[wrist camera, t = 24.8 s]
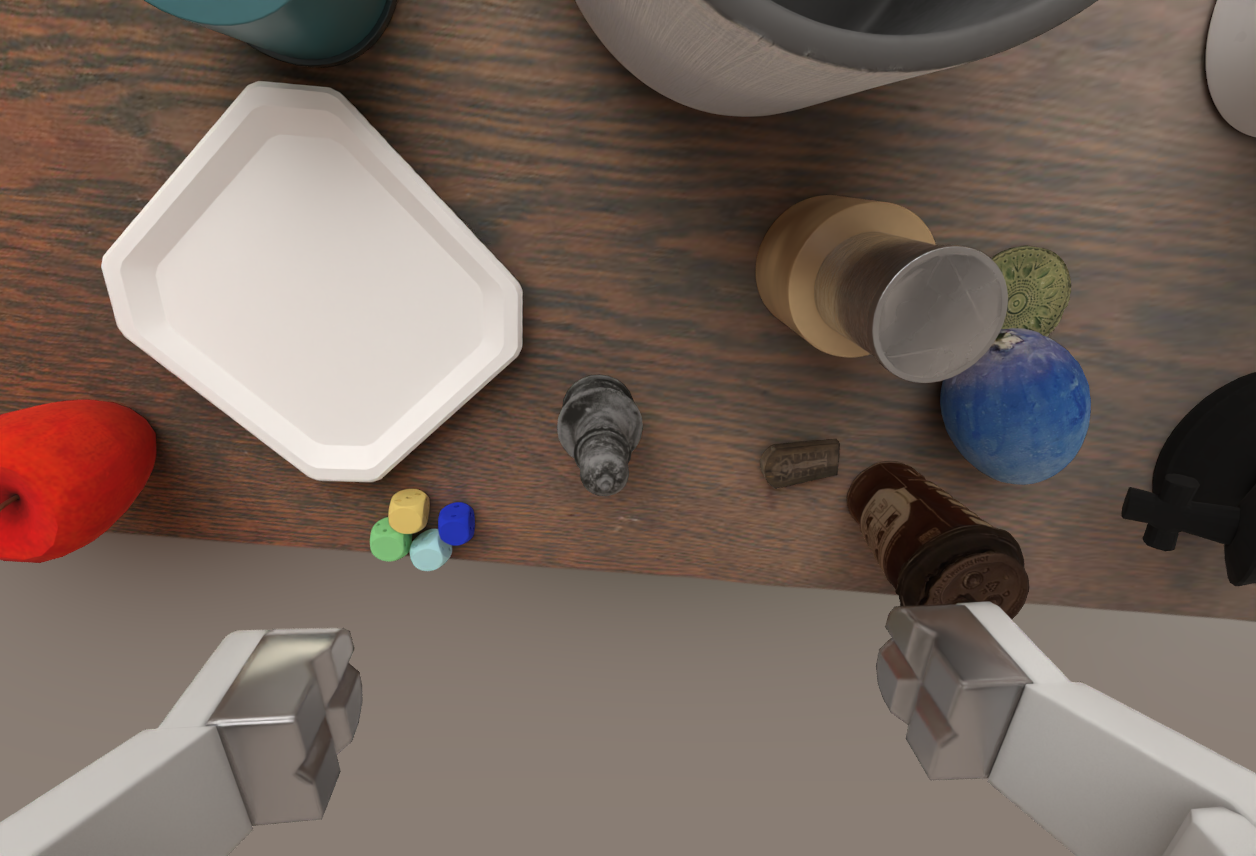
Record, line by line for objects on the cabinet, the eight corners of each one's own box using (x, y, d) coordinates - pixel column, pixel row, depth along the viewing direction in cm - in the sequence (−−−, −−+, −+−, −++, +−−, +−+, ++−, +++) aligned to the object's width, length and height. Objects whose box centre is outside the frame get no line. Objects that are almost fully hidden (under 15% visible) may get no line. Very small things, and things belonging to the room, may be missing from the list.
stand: (812, 166, 39) (859, 167, 32) (909, 244, 41) (971, 259, 35) (729, 284, 41) (757, 307, 35) (825, 351, 44) (867, 383, 38)
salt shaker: (636, 444, 46) (655, 533, 35) (558, 444, 45) (553, 535, 34) (639, 370, 43) (661, 442, 32) (557, 370, 43) (552, 442, 32)
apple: (42, 463, 42) (-118, 555, 33) (53, 355, 39) (-119, 419, 30) (178, 503, 45) (66, 601, 35) (198, 403, 42) (82, 478, 32)
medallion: (942, 290, 42) (948, 292, 42) (1046, 221, 41) (1054, 221, 40) (982, 375, 46) (988, 378, 45) (1080, 313, 44) (1088, 315, 43)
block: (844, 447, 45) (836, 433, 46) (765, 453, 45) (759, 439, 46) (838, 484, 47) (830, 470, 48) (762, 490, 47) (757, 476, 48)
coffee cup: (826, 542, 51) (903, 658, 39) (831, 456, 48) (916, 554, 36) (926, 529, 51) (1031, 640, 39) (938, 442, 48) (1057, 535, 36)
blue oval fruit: (987, 334, 34) (1013, 530, 41) (1122, 271, 34) (1127, 476, 41) (896, 304, 42) (930, 472, 49) (1006, 253, 42) (1025, 427, 49)
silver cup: (825, 221, 33) (895, 238, 26) (932, 234, 34) (1029, 254, 27) (799, 333, 36) (856, 377, 28) (898, 343, 37) (979, 388, 29)
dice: (489, 530, 48) (450, 466, 45) (485, 550, 45) (443, 484, 43) (400, 565, 48) (355, 504, 46) (391, 587, 46) (344, 524, 43)
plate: (93, 288, 38) (66, 295, 36) (303, 43, 34) (285, 35, 32) (357, 494, 45) (347, 510, 43) (557, 315, 41) (556, 323, 39)
